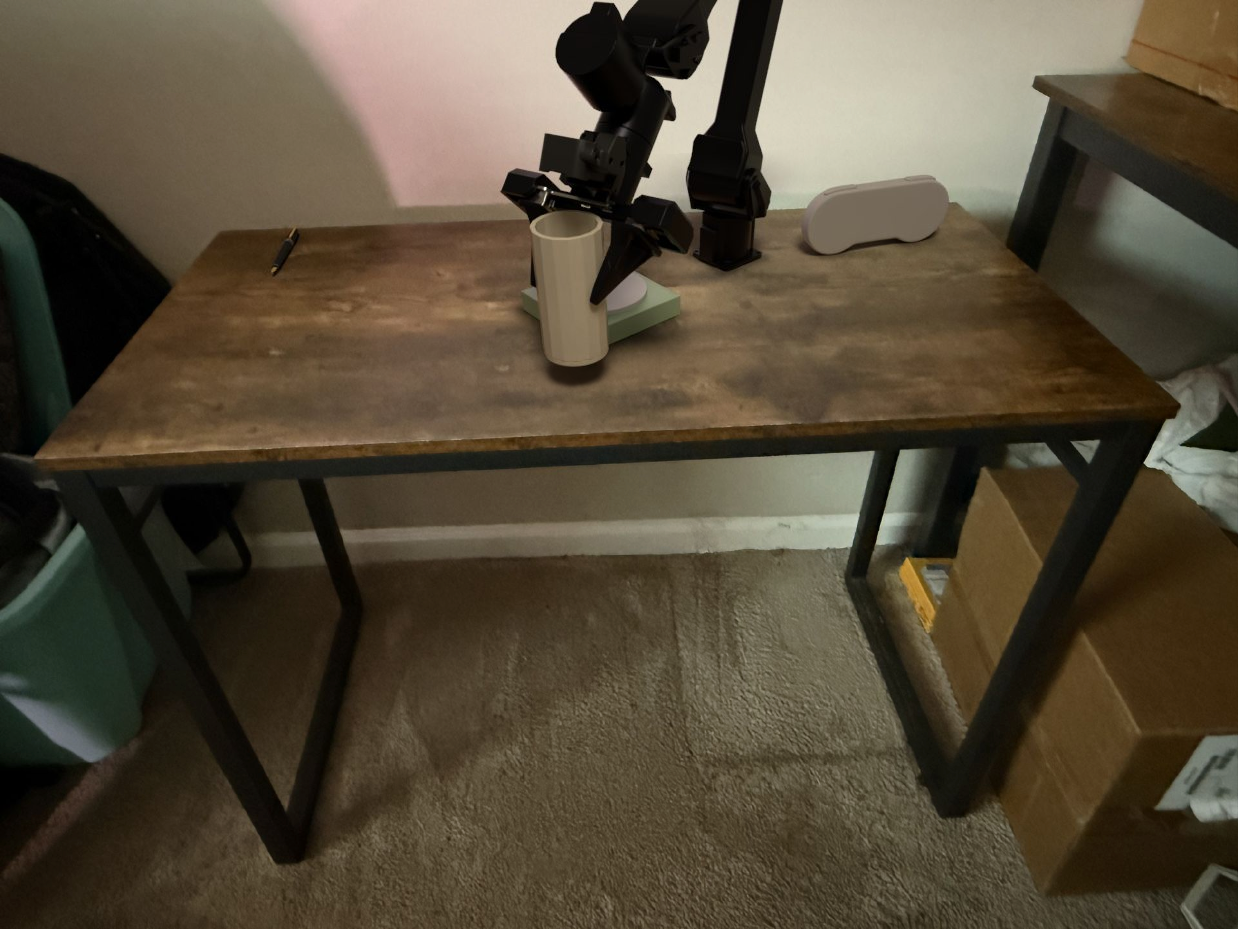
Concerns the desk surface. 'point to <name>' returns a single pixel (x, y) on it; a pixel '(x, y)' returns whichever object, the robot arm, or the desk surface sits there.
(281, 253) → the fountain pen
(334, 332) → the desk surface
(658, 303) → the scale
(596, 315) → the cup
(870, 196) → the game controller
